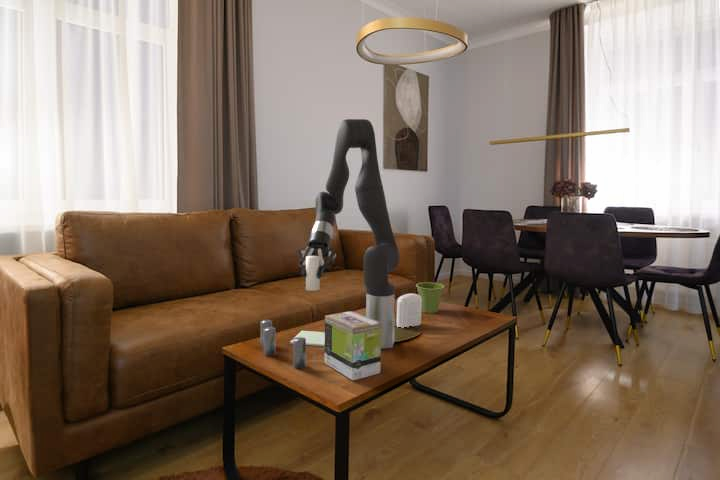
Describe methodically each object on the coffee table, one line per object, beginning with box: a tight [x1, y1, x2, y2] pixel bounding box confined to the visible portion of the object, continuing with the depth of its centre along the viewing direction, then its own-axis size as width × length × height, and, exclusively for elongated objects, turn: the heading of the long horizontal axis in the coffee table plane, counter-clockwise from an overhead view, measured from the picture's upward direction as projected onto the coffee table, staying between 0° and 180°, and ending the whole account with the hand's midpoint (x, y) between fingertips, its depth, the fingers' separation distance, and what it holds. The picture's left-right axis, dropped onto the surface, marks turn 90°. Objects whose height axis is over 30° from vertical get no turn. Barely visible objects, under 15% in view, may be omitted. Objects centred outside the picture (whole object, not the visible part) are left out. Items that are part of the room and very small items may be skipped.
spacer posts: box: [260, 319, 307, 370], centre depth 133 cm, size 28×18×8 cm, turn 79°
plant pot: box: [415, 282, 445, 314], centre depth 184 cm, size 12×12×11 cm
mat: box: [289, 330, 325, 347], centre depth 149 cm, size 12×12×1 cm
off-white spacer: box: [305, 255, 320, 292], centre depth 146 cm, size 4×4×11 cm
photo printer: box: [395, 293, 422, 329], centre depth 164 cm, size 10×4×12 cm, turn 123°
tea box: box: [324, 310, 382, 381], centre depth 124 cm, size 15×10×15 cm, turn 35°
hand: (311, 276), depth 145 cm, fingers closed on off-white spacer, 4 cm apart
